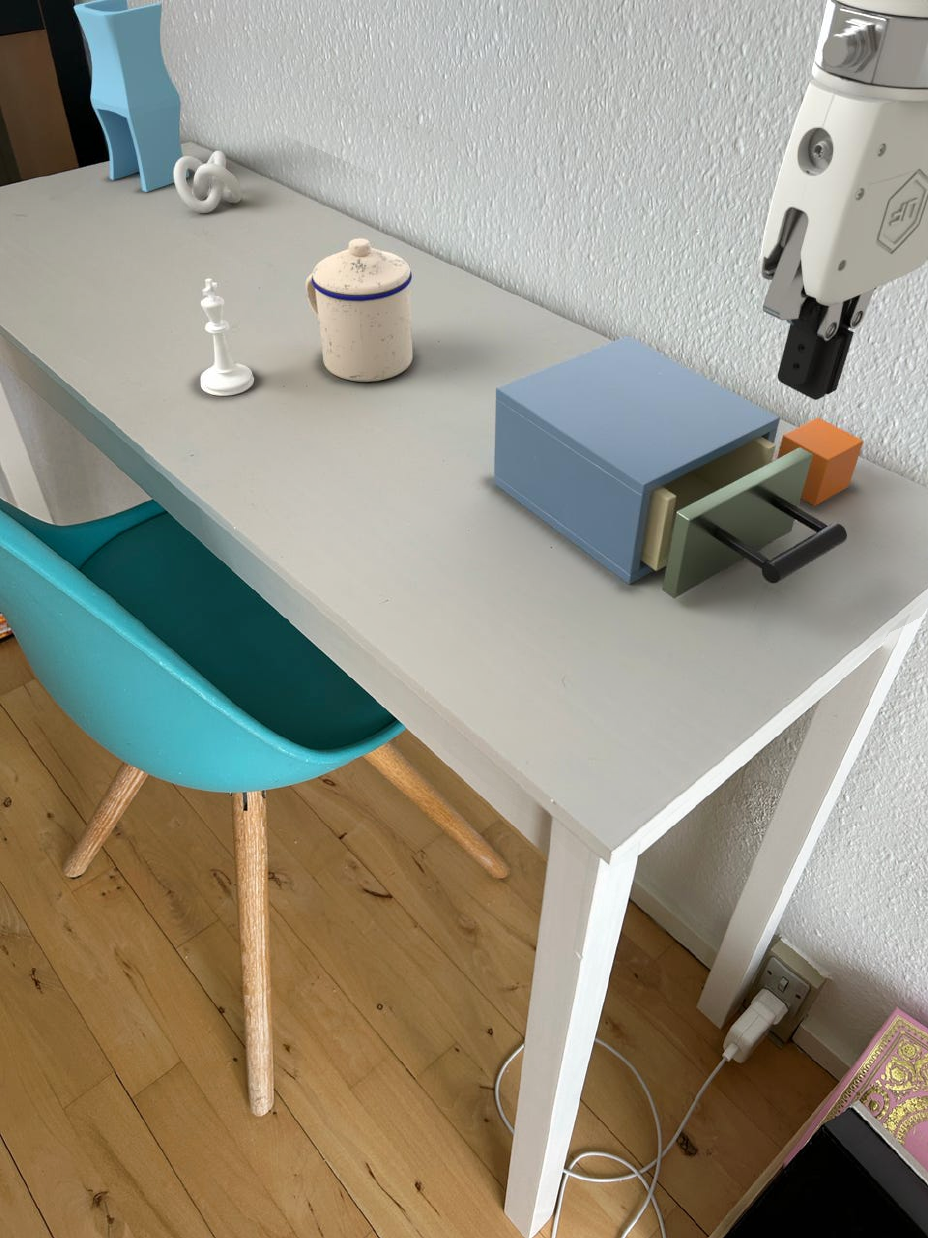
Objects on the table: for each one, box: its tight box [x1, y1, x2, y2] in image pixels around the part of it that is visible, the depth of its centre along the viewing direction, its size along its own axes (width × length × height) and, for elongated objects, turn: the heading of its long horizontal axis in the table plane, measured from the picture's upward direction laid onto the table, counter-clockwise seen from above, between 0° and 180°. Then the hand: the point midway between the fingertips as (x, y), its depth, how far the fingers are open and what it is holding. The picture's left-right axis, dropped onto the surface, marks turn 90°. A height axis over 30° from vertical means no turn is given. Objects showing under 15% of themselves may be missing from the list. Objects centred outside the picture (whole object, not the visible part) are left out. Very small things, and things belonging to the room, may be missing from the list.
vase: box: [73, 0, 190, 193], centre depth 125 cm, size 8×8×20 cm
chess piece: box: [200, 278, 255, 397], centre depth 88 cm, size 5×5×10 cm
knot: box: [174, 150, 243, 214], centre depth 122 cm, size 8×8×6 cm
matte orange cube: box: [776, 417, 864, 507], centre depth 78 cm, size 4×4×4 cm
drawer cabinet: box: [493, 335, 781, 585], centre depth 75 cm, size 16×14×9 cm
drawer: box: [641, 436, 848, 599], centre depth 71 cm, size 20×13×7 cm, turn 37°
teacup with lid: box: [304, 237, 414, 383], centre depth 91 cm, size 12×9×12 cm
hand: (805, 386), depth 59 cm, fingers closed
